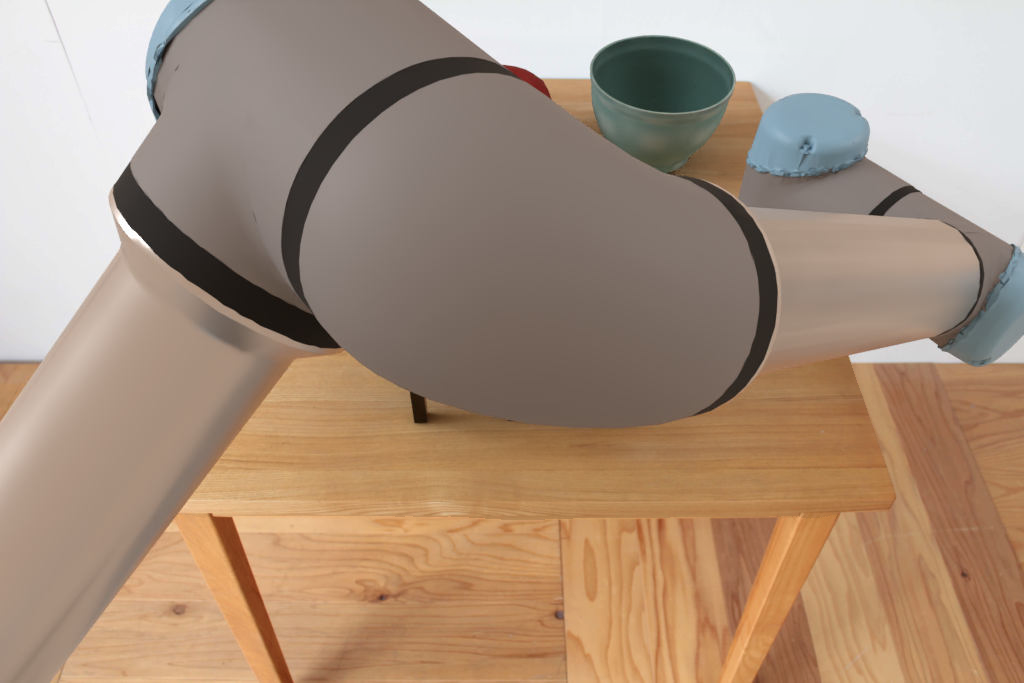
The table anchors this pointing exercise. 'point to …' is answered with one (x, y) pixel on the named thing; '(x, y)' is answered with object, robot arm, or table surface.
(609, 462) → the table surface
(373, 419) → the table surface
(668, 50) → the flower pot
